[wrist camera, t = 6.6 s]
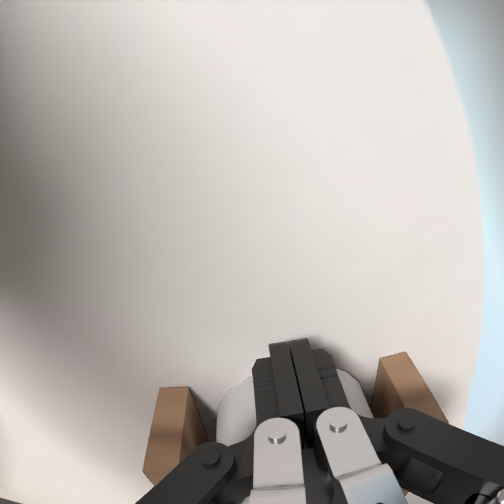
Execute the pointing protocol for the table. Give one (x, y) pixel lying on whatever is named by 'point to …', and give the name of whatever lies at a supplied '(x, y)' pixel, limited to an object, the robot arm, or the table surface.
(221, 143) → the table surface
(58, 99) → the table surface
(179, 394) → the dock
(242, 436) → the can
